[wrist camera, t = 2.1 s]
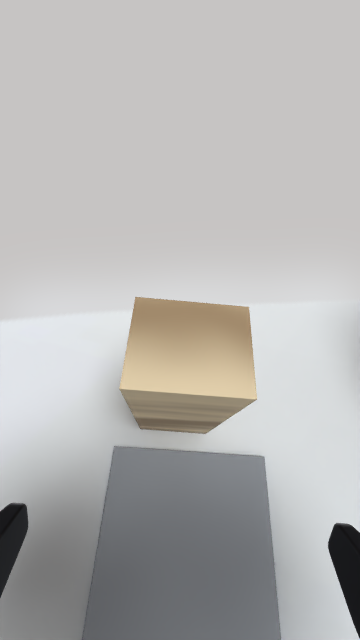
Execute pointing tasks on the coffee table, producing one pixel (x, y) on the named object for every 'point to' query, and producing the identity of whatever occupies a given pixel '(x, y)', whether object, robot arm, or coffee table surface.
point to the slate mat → (184, 550)
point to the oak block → (187, 364)
